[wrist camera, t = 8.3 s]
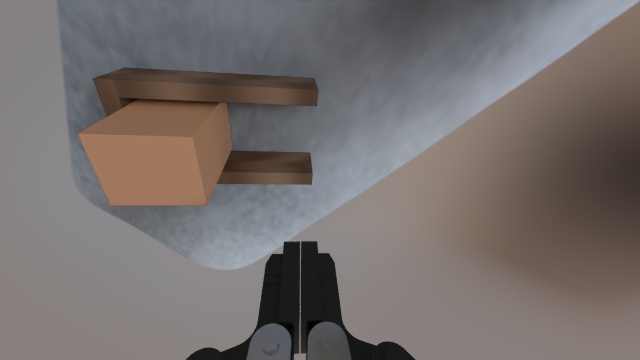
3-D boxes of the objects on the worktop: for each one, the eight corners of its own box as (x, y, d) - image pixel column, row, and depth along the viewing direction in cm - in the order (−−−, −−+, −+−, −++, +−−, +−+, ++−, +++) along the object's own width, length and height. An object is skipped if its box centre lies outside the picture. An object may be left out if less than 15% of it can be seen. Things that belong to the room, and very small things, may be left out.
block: (226, 94, 22) (192, 137, 15) (232, 147, 25) (206, 205, 18) (151, 91, 22) (77, 133, 14) (166, 145, 24) (110, 205, 17)
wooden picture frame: (314, 78, 22) (317, 90, 19) (309, 163, 27) (311, 184, 24) (124, 67, 21) (92, 78, 17) (153, 160, 25) (132, 182, 22)
